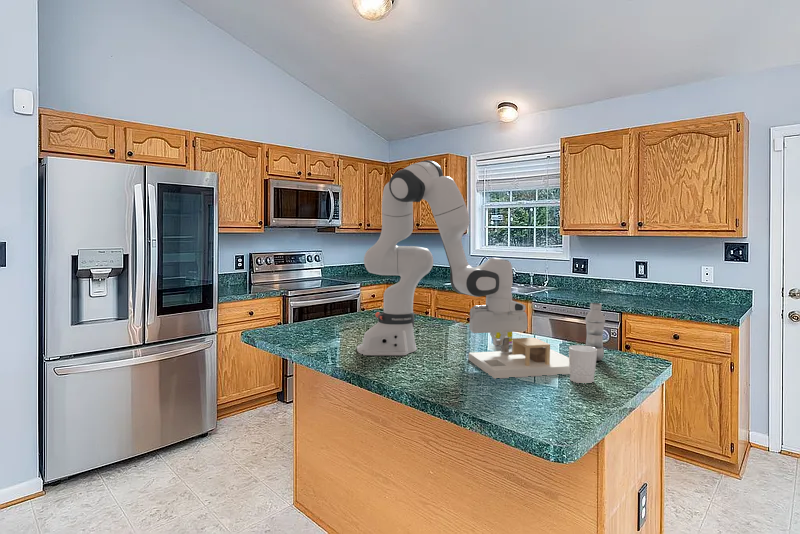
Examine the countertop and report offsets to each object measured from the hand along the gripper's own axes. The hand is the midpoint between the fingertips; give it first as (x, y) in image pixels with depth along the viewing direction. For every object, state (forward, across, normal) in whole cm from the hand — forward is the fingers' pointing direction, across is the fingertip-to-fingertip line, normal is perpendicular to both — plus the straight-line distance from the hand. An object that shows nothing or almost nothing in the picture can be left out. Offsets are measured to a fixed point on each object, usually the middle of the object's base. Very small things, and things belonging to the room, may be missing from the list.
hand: (497, 344), depth 164 cm
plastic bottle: (+6, +34, -5) cm, 35 cm away
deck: (+6, +6, -7) cm, 11 cm away
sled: (+3, +7, -5) cm, 9 cm away
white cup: (+6, +16, -25) cm, 31 cm away
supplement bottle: (+6, +12, +23) cm, 26 cm away
